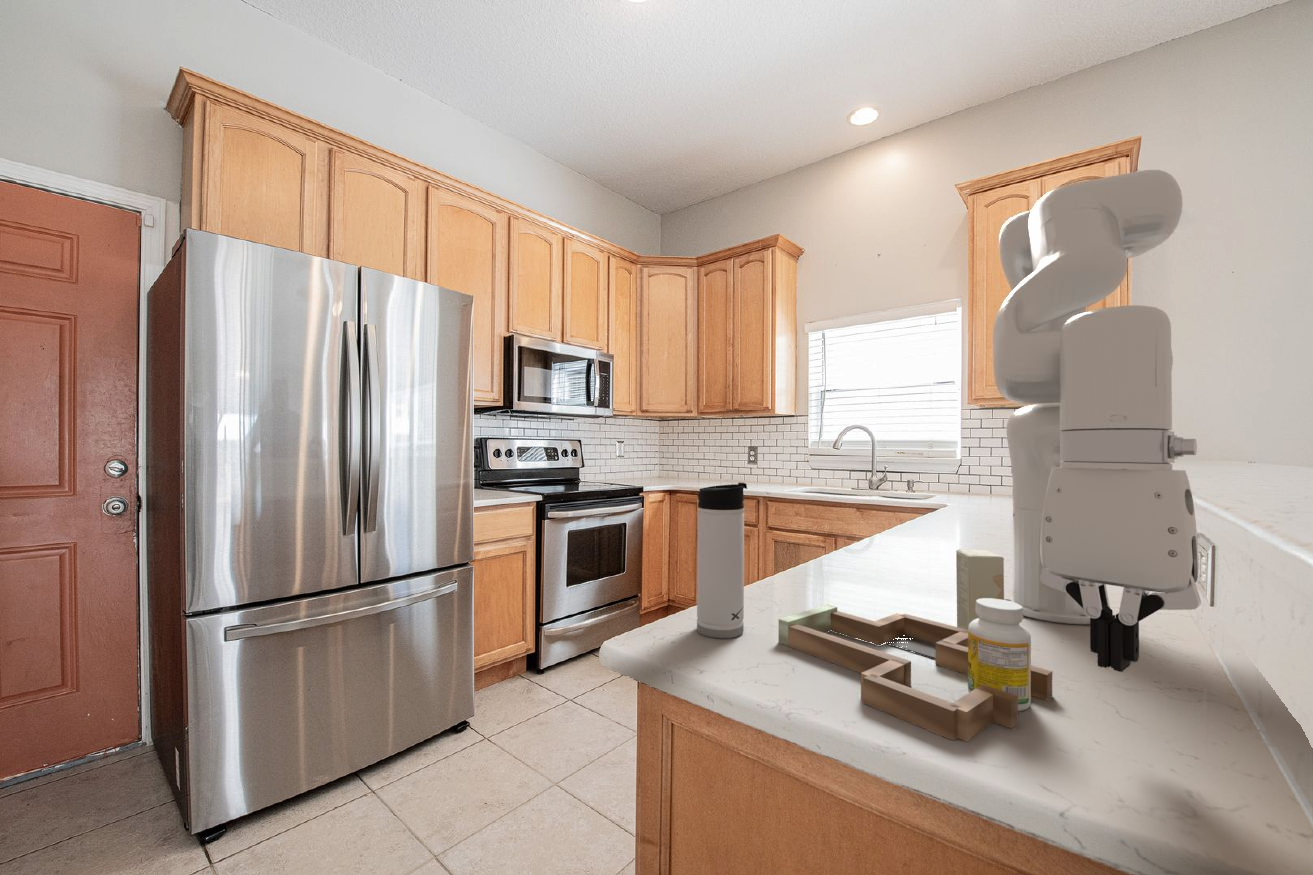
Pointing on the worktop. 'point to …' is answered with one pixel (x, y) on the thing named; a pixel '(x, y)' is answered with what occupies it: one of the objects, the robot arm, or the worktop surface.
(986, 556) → the box
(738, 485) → the travel mug
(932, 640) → the box
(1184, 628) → the worktop surface
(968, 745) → the worktop surface
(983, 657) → the supplement bottle
